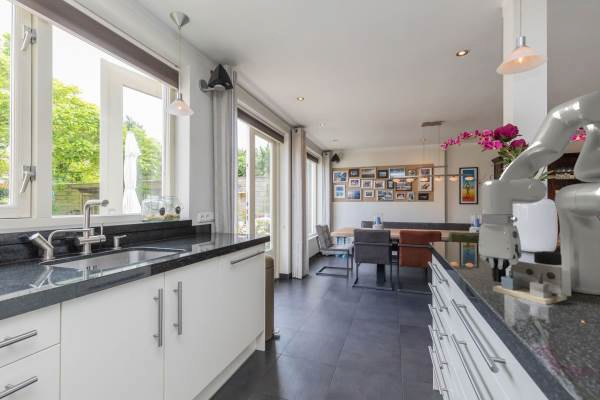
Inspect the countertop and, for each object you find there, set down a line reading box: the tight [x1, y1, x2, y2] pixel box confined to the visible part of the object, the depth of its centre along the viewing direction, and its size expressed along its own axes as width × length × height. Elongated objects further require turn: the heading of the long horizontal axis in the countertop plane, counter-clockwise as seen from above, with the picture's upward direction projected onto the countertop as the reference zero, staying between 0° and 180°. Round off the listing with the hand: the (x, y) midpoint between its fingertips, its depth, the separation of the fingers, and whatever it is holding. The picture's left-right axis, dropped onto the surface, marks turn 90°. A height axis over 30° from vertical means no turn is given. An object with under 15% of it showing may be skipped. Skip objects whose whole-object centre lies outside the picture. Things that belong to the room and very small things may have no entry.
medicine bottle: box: [533, 250, 572, 297], centre depth 82 cm, size 7×7×12 cm
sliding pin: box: [500, 267, 522, 290], centre depth 81 cm, size 4×3×6 cm
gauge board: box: [492, 260, 568, 306], centre depth 79 cm, size 10×13×8 cm
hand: (499, 281), depth 84 cm, fingers closed
